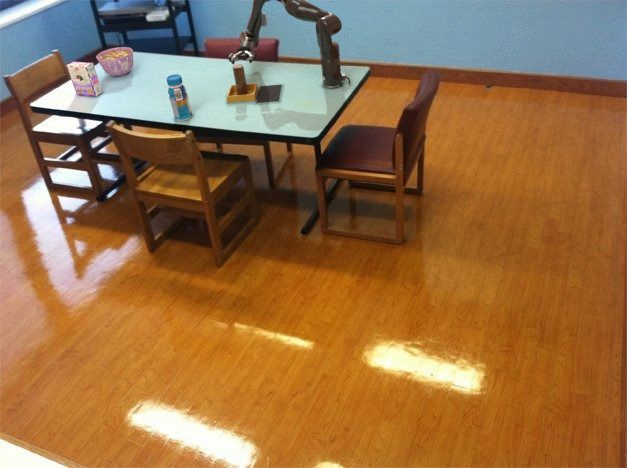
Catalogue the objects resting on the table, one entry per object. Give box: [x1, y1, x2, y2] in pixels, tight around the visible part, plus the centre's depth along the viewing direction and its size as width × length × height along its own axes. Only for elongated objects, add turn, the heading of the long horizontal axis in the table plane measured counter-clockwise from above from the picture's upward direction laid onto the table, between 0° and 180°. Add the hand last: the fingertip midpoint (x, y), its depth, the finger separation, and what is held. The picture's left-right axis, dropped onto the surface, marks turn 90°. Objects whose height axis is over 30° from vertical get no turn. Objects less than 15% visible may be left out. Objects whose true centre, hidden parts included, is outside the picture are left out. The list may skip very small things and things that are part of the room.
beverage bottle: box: [166, 73, 193, 122], centre depth 276 cm, size 8×8×20 cm
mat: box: [255, 84, 283, 104], centre depth 293 cm, size 11×20×1 cm, turn 178°
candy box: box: [65, 61, 103, 98], centre depth 312 cm, size 14×6×16 cm, turn 65°
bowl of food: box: [95, 46, 134, 77], centre depth 333 cm, size 20×20×12 cm
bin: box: [226, 82, 259, 103], centre depth 293 cm, size 14×14×4 cm
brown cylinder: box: [232, 63, 248, 95], centre depth 290 cm, size 5×5×15 cm
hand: (241, 61), depth 295 cm, fingers open, 8 cm apart
